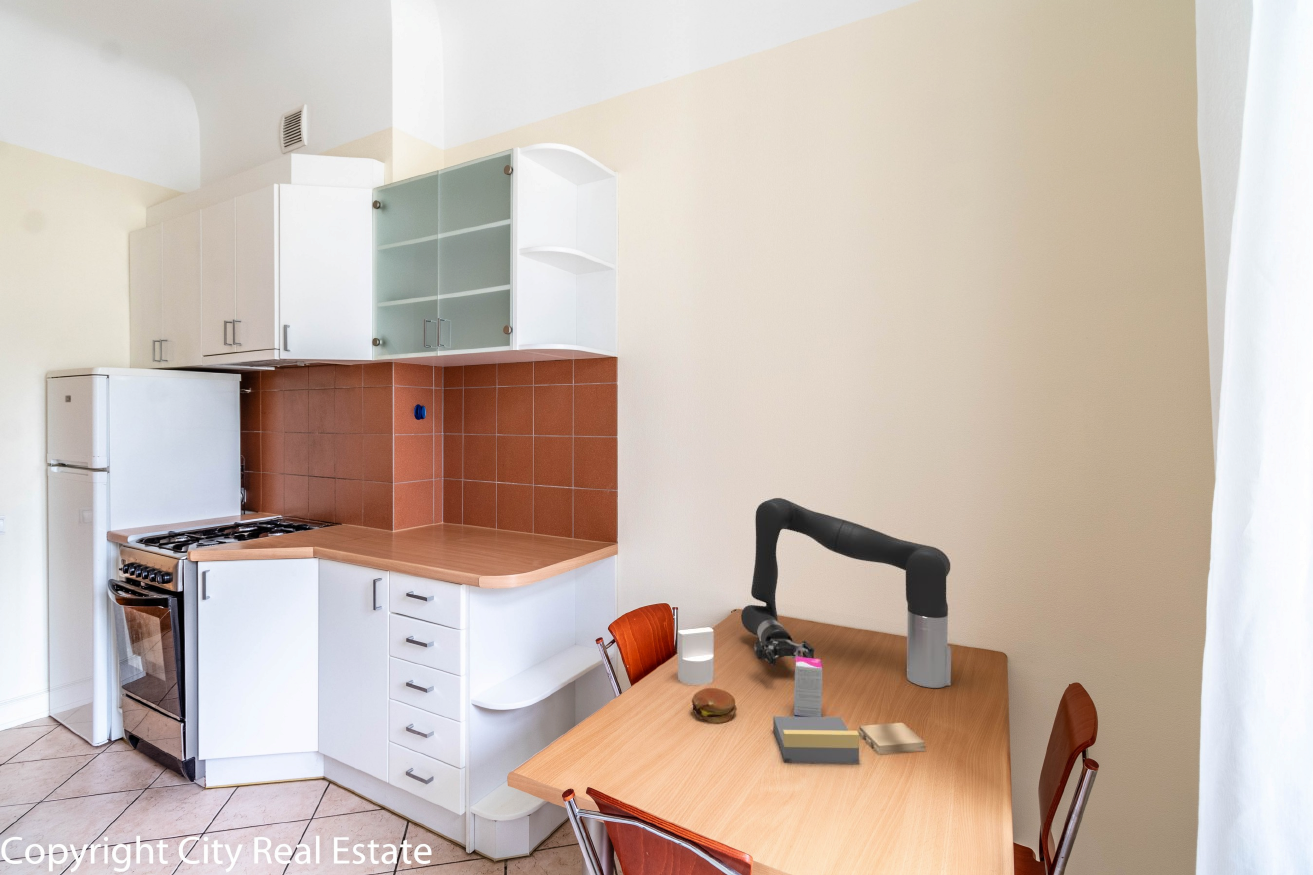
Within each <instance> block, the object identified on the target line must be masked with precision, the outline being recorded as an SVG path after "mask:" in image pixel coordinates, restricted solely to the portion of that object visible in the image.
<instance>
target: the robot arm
mask: <svg viewBox="0 0 1313 875" xmlns="http://www.w3.org/2000/svg"><path fill="white" fill-rule="evenodd" d="M754 518H755V521H754V522H755V559H754V569H753V576H752V583H751V590H750V593H751V594H750V595H751V597H752V598H753V599H754V600H757V601H760V602H762V603H765V605H755V604H747V606H745V607H743V609H742V611H741V613H740V614H741V615H740V620H741V622H742V625H743V627H744V629H745V630H746V631H748V632H749V633H751V634H753V635H754V636H756V637H757V638H758V640H759V641H758V640H757V641H754V654H755V657H756V658H757V660H759V661H762V660H763V659H765V661H767V662H768V664H770V665H771V666H772V667H776V666H777V665H776V664H777V659H781V658H784V657H786V658H789V657H790V658H792V659H794V660H795V657H804V658H814V659H815V648H814V647H813V646H812V645H811V644H810V643H809V642H808V641H806V640H802V641H801V643H797V642H795V641H794V640H793V638H792V636H791V634H790V633H789V632H788V631H787V629H785V627H784V626H783V625H782V624H781V623H780V622H779V619H778V617H779V616H778V611H777V604H776V593H777V592H776V591H777V585H778V579H779V578H778V577H779V567H778V566H779V565H778V560H777V546H778V545H777V544H778V541H779V537H780V534H781V531H782V530H787V531H792V532H795V533H799V534H803V535H805V536H807V537H809V538H811V539H813V540H814V541H815V542H817V543H818V544H819V545H821V546H822V547H824V548H825V549H828V551H832V552H833V553H835V554H836V553H837V554H839V555H842V556H845V557H847V558H851V559H854V560H859V561H865V562H872V563H880V564H885V565H889V566H892V567H895V568H898V569H901V570H904V571H905V599H906V603H907V619H906V620H907V621H906V622H907V623H906V624H907V626H906V627H907V630H906V631H907V632H906V633H907V634H906V637H907V638H906V639H907V640H906V642H907V643H906V649H907V650H906V679H907V680H908V681H909V682H911V683H913V684H914V685H918V686H920V687H924V688H930V689H931V688H932V689H936V688H937V689H939V688H945V687H947V686H951V684H952V683H951V681H952V680H951V679H952V676H951V674H952V671H951V670H952V666H951V665H952V648H951V646H950V645H949V644H948V635H949V634H948V629H949V626H948V622H949V620H948V618H949V605H948V602H947V601H948V600H947V577H948V575H949V574H950V571H951V561H950V559H949V558H948V556H947V554H946V553H945V552H944V551H942V550H941V549H939V548H937V547H936V546H935V547H934V546H932V545H931V546H930V545H927V544H926V545H925V544H922V543H921V544H920V543H917V542H913V541H912V542H911V541H907V540H903V539H900V538H897V537H893V536H891V535H889V534H886V533H883V532H881V531H878V530H876V529H873V528H870V527H867V526H865V525H862V524H859V523H855V522H854V521H853V522H852V521H849V520H846V519H843V518H839V517H835V516H832V515H829V514H825V513H822V512H821V513H820V512H818V511H814V510H811V509H809V508H806V507H803V506H801V505H798V504H796V503H795V502H792V501H791V500H788V499H784V498H782V497H775V498H771V499H768V500H764V501H763V502H761V503H760V504H759V505H758V506H757V508H756V511H755V517H754ZM801 653H802V654H801Z"/></svg>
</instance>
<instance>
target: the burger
mask: <svg viewBox="0 0 1313 875" xmlns="http://www.w3.org/2000/svg"><path fill="white" fill-rule="evenodd" d="M691 703H692V708H691V709H692V711H694V712H695V716H696V717H697V718H699V720H705V721H706V722H708V723H709V724H712V725H713V724H715V725H719V724H724V723H728V722H730V721H731V720H732V719H733V717H734V715H735V714H736V712H737V710H738V708H737V705H736V700H735V698H734V696H733V695H732V694H731V693H730V692H728V691H726V690H723V689H720V688H716V687H705V688H703V689H700V690H698V691H697V692H696V693H695V694H694V695H693V697H692V698H691Z"/></svg>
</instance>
